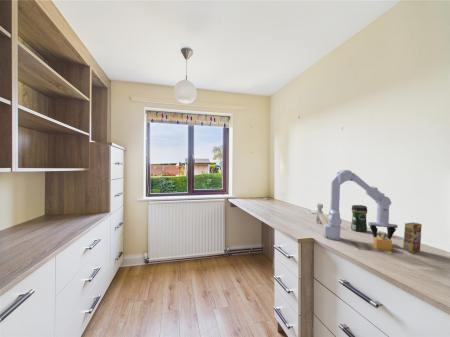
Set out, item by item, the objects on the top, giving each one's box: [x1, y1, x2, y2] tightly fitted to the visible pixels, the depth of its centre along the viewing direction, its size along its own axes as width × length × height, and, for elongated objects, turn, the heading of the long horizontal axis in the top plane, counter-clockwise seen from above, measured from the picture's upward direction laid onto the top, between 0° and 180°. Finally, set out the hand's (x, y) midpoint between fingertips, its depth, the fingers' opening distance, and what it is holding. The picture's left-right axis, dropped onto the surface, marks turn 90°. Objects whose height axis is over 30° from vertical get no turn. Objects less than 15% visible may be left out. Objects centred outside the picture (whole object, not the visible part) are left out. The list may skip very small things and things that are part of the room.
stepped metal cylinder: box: [378, 231, 387, 238], centre depth 125 cm, size 3×3×7 cm
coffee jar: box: [350, 204, 368, 232], centre depth 155 cm, size 10×8×19 cm
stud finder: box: [373, 236, 393, 250], centre depth 117 cm, size 7×4×5 cm, turn 76°
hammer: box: [315, 202, 329, 227], centre depth 160 cm, size 16×5×30 cm
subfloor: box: [349, 240, 402, 256], centre depth 118 cm, size 20×19×1 cm
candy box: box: [402, 222, 423, 254], centre depth 117 cm, size 9×4×15 cm, turn 115°
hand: (381, 239), depth 125 cm, fingers open, 7 cm apart
